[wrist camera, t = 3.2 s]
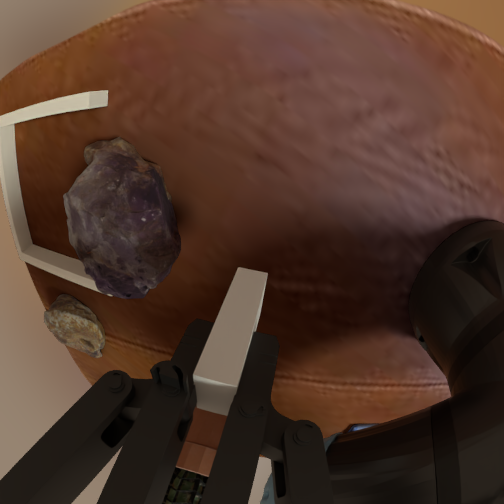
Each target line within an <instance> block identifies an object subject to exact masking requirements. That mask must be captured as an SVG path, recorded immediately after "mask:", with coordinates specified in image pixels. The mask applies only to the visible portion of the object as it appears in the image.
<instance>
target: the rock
mask: <svg viewBox="0 0 504 504" xmlns="http://www.w3.org/2000/svg"><path fill="white" fill-rule="evenodd" d="M84 157H85V161H86V163H87V164H88V167H87V168H86V169H85V170H84V171H83V173H82V174H81V175H80V176H79V177H77V179H76V181H75V182H74V184H73V185H72V187H71V188H70V190H69V192H67V193H65V194H64V195H63V198H64V206H65V211H66V214H67V217H68V219H67V225H68V230H69V241H70V244H71V245H72V246H73V248H74V249H75V251H76V253H77V255H78V257H79V259H80V261H81V262H82V263H83V265H84V267H85V269H84V271H85V273H86V274H87V275H90V276H91V278H93V280H94V282H95V285H96V287H97V289H98V290H99V291H100V292H102V293H103V294H105V295H107V294H111V295H113V296H116V297H119V298H125V299H133V298H144V297H145V296H146V294H147V293H148V291H149V289H150V288H151V289H153V288H155V287H156V286H157V284H158V283H160V282H162V281H163V280H164V278H165V277H166V276H167V275H168V274H169V273H170V270H171V267H172V265H173V263H174V262H175V260H176V259H177V258H178V256H179V253H180V251H181V239H180V235H179V232H178V228H177V221H176V217H175V213H174V209H173V206H172V203H171V195H170V194H169V193H168V192H167V190H166V184H165V183H164V179H163V175H162V171H161V168H160V166H158V165H156V164H154V163H151V162H148V161H144V160H143V158H142V157H141V156H140V155H139V153H138V152H137V151H136V149H135V147H134V146H133V145H132V144H130V143H128V142H126V141H124V140H123V139H121V138H120V137H118V138H116V139H114V140H112V141H105V140H101V141H97V142H95V143H92V144H90V145H88V146H87V147H85V151H84Z"/></svg>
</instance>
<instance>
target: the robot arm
mask: <svg viewBox="0 0 504 504" xmlns="http://www.w3.org/2000/svg"><path fill="white" fill-rule="evenodd" d="M267 275H268V273H265V272H260V271H255V270H250V269H245V268H241V267H238V269H237V272H236V274H235V276H234V279H233V281H232V283H231V286H230V288H229V290H228V293H227V295H226V297H225V300H224V302H223V305H222V307H221V309H220V312H219V314H218V316H217V319H216V321H215V323H213V322H209V321H205V320H201V319H196V320H195V321H193V322H192V323H191V324H190V325H188V327H187V329H186V331H185V333H184V336H183V337H182V339H181V341H180V344H179V345H178V347H177V349H176V351H175V353H174V355H173V357H172V359H171V361H162V362H159V363H157V364H155V365H154V366H153V367H152V368H151V370H150V371H151V374H152V377H153V379H134V378H130V376H129V375H128V374H127V373H125V372H123V371H120V370H113V371H109V372H107V373H106V374H104V375H103V376H102V377H101V378H100V379H99V380H98V381H97V382H96V383H95V384H94V385H93V386H92V387H91V388H90V389H89V390H88V391H87V392H86V393H85V394H84V395H83V396H82V397H81V398H80V399H79V400H78V401H77V402H76V403H75V404H74V405H73V406H72V407H71V408H70V409H69V410H68V411H67V412H66V413H65V414H64V415H63V416H62V417H61V418H60V419H59V420H58V421H57V422H56V423H55V424H54V425H53V426H52V427H51V428H50V429H49V430H48V432H46V433H45V435H44V436H43V437H42V438H41V439H39V441H38V442H37V443H36V444H35V445H34V446H33V447H32V448H31V449H30V450H29V451H28V452H27V453H26V454H25V455H24V456H23V457H22V458H21V459H20V460H19V461H18V463H16V465H14V467H13V468H12V469H11V470H10V471H9V472H8V473H7V474H6V475H5V476H4V477H3V478H2V479H1V480H0V504H71V503H72V502H73V501H74V500H75V499H76V497H78V495H79V494H80V493H81V492H82V491H83V490H84V489H85V488H86V487H87V485H88V484H89V483H90V482H91V481H92V480H93V479H94V478H95V477H96V475H97V474H98V473H99V472H100V471H101V470H102V469H103V467H104V466H105V465H106V464H107V463H108V462H109V461H110V460H111V458H112V457H113V456H114V455H115V454H116V452H118V450H119V449H120V448H121V447H122V446H123V447H122V449H121V451H120V453H119V455H118V457H117V460H116V462H115V464H114V466H113V468H112V471H111V473H110V475H109V477H108V479H107V482H106V484H105V486H104V488H103V491H102V493H101V495H100V497H99V500H98V502H97V504H162V502H163V499H164V497H165V494H166V491H167V489H168V486H169V483H170V480H171V478H172V475H173V472H174V470H175V467H176V464H177V462H178V459H179V456H180V453H181V451H182V448H183V445H184V443H185V440H186V437H187V435H188V432H189V429H190V426H191V424H192V421H193V412H194V409H195V406H196V404H197V408H199V409H203V410H206V411H210V412H214V413H218V414H221V415H225V416H227V419H226V422H225V425H224V429H223V432H222V435H221V438H220V442H219V445H218V448H217V451H216V455H215V458H214V461H213V464H212V467H211V470H210V474H209V477H208V480H207V483H206V486H205V489H204V492H203V495H202V498H201V501H200V504H248V500H249V497H250V493H251V489H252V485H253V481H254V477H255V473H256V468H257V464H258V460H259V455H260V454H261V455H263V456H265V457H267V458H269V459H271V466H272V473H271V475H270V477H269V478H268V481H267V483H266V485H265V488H264V494H263V497H262V500H261V502H260V504H504V224H503V223H500V222H497V221H482V222H477V223H474V224H471V225H469V226H467V227H464V228H463V229H461V230H459V231H457V232H456V233H454V234H453V235H452V236H450V237H449V238H448V239H447V240H445V241H444V242H443V243H442V244H441V245H440V246H439V247H438V248H437V249H436V250H435V251H434V252H433V253H432V255H431V256H430V257H429V258H428V260H427V261H426V263H425V264H424V266H423V267H422V269H421V270H420V272H419V274H418V276H417V278H416V280H415V282H414V285H413V287H412V291H411V294H410V299H409V317H410V321H411V324H412V327H413V330H414V333H415V336H416V338H417V340H418V342H419V344H420V345H421V346H422V347H423V348H424V349H425V350H426V351H427V353H428V354H429V356H430V357H431V358H432V360H433V361H434V362H435V363H436V365H437V366H438V367H439V368H440V370H441V371H442V372H443V374H444V375H445V376H446V378H447V381H448V385H449V389H450V392H451V397H450V398H448V399H446V400H444V401H442V402H439V403H437V404H435V405H432V406H430V407H427V408H425V409H422V410H420V411H417V412H414V413H412V414H409V415H406V416H403V417H400V418H397V419H394V420H391V421H388V422H385V423H381V424H378V425H374V426H371V427H367V428H363V429H360V430H356V431H351V432H347V433H342V432H340V433H335V434H333V435H331V436H330V437H328V438H323V436H322V432H321V430H320V428H319V427H318V426H317V425H316V424H315V423H313V422H311V421H309V420H298V421H293V420H291V419H289V418H287V417H285V416H283V415H281V414H280V413H278V412H277V411H276V410H275V409H274V407H273V405H272V403H271V391H272V385H273V380H274V375H275V369H276V363H277V357H278V352H279V343H278V340H277V337H276V336H274V335H269V334H264V333H259V332H256V329H257V325H258V321H259V317H260V313H261V308H262V302H263V297H264V291H265V286H266V280H267Z"/></svg>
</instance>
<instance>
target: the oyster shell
mask: <svg viewBox="0 0 504 504" xmlns="http://www.w3.org/2000/svg"><path fill="white" fill-rule="evenodd" d="M44 322H45V324H46V325H47V327H48V329H49V330H50V331H51V332H52V333H53V334H54V336H55V337H56V338H57V339H58V340H59V341H60V342H61V343H63V344H65V345H67V346H70V347H72V348H75V349H77V350H79V351H82V352H85V353H87V354H88V355H90V356H91V357H94V358H99V357H101V356H102V353H101V352H100V349H103V347H104V345H105V331H104V328H103V327H102V324H101V323H100V322H99V321H98V320H97V317H96V315H95V314H94V313H93V312H92V311H91V310H90V309H89V308H88V307H86V306H85V305H84V304H82V303H81V302H80V301H78V300H77V299H76V298H74V297H73V296H71V295H67V294H62V295H59V296H58V297H57V299H56V301H54V302H53V303H52V304H51V306H50V308H49V310H47V311H45V312H44Z"/></svg>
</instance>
